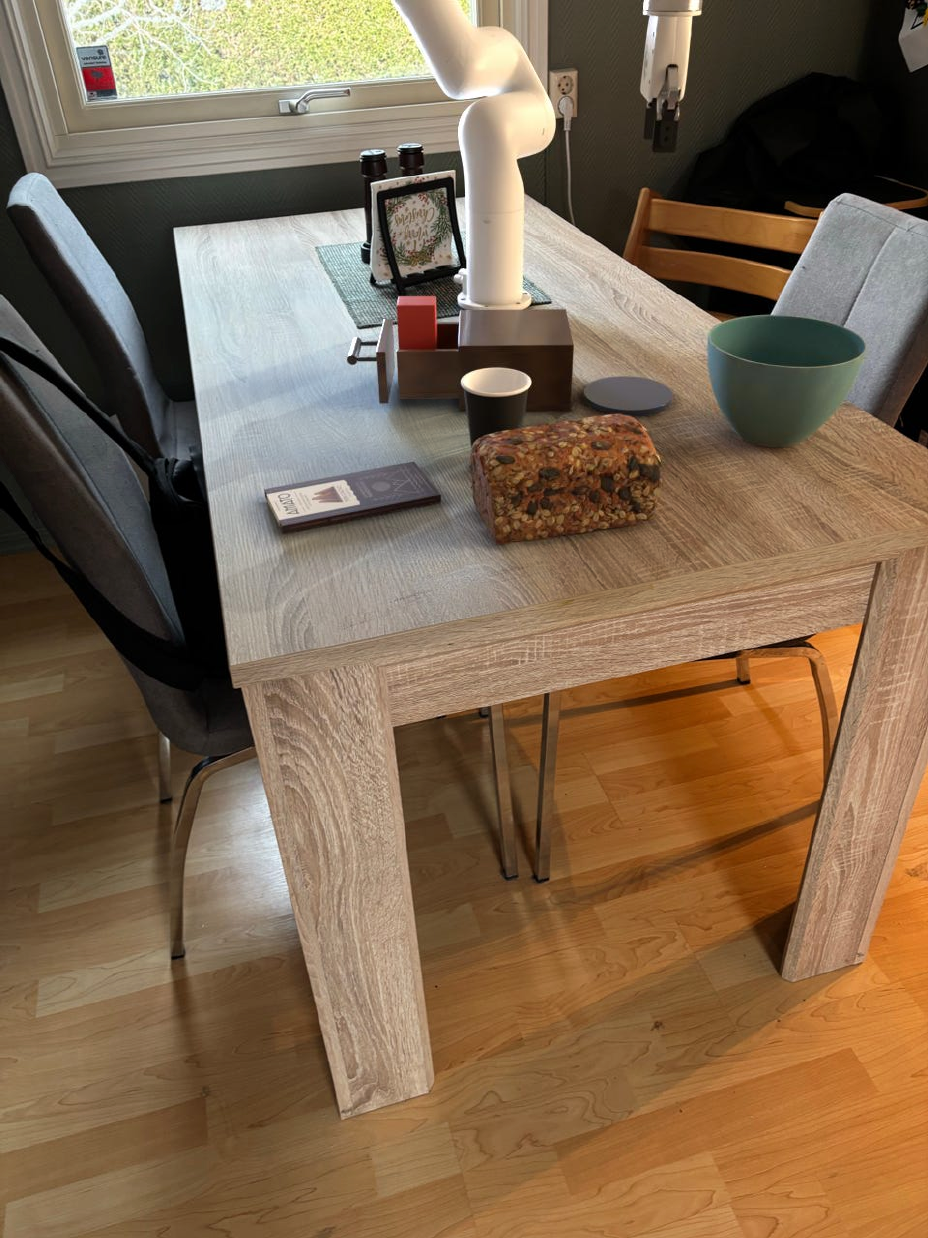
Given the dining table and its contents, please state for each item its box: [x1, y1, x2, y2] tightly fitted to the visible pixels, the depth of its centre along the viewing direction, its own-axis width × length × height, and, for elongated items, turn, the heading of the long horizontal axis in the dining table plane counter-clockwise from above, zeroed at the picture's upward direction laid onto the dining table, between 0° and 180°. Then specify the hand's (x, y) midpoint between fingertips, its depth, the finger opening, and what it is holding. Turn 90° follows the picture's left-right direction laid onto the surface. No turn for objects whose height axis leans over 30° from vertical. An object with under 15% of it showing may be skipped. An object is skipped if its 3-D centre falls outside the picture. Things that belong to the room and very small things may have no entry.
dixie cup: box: [461, 368, 531, 449], centre depth 113 cm, size 8×8×11 cm
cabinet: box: [458, 308, 575, 413], centre depth 133 cm, size 15×14×9 cm
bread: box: [469, 413, 664, 545], centre depth 104 cm, size 19×11×10 cm, turn 104°
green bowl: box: [706, 314, 868, 448], centre depth 120 cm, size 18×18×12 cm
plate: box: [583, 375, 674, 417], centre depth 133 cm, size 12×12×1 cm
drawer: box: [346, 318, 460, 405], centre depth 134 cm, size 18×13×7 cm
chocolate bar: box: [263, 461, 442, 534], centre depth 110 cm, size 9×1×18 cm
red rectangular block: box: [396, 295, 438, 350], centre depth 132 cm, size 5×4×10 cm
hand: (658, 145), depth 137 cm, fingers open, 9 cm apart
